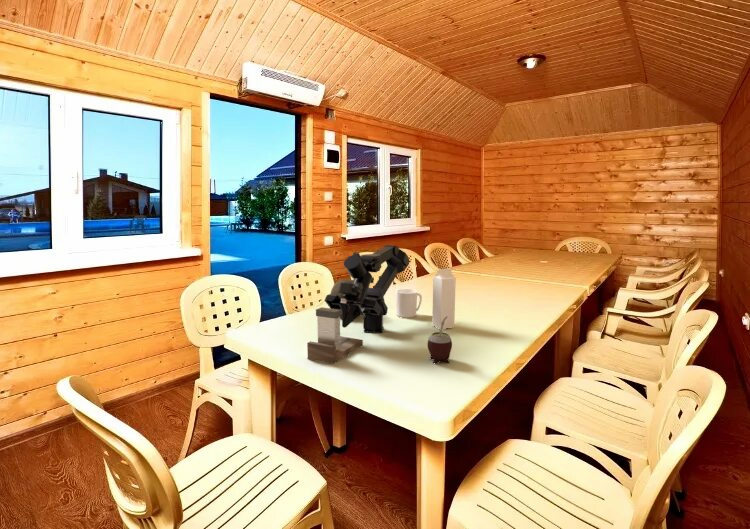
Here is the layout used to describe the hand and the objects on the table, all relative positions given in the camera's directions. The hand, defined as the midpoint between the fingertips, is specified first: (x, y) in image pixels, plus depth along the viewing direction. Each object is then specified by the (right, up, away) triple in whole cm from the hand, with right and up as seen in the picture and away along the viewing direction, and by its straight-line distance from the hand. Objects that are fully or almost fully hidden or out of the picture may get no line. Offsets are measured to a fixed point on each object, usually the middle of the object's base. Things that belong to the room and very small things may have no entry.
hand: (343, 326), depth 139 cm
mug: (+24, -1, +40) cm, 46 cm away
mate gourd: (+29, -9, -11) cm, 32 cm away
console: (-2, -7, -3) cm, 8 cm away
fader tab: (-4, -5, -7) cm, 10 cm away
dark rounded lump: (-1, -1, +41) cm, 41 cm away
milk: (+36, -4, +24) cm, 43 cm away
